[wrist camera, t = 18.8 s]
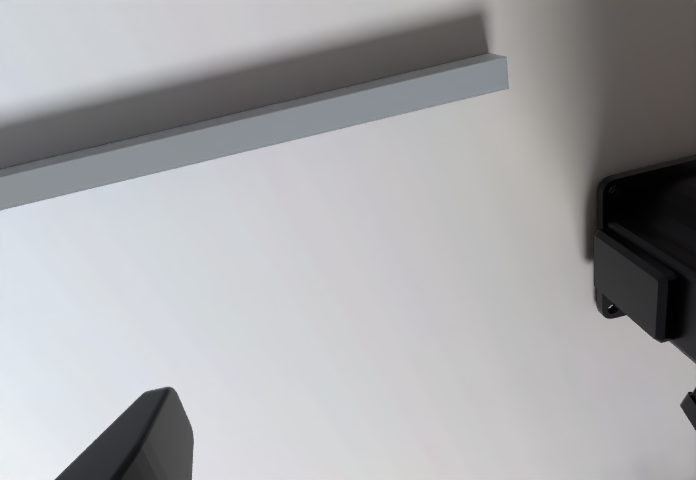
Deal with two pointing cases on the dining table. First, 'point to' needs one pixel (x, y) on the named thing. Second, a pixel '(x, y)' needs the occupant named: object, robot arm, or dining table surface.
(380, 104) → the channel
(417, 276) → the dining table surface
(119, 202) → the dining table surface
